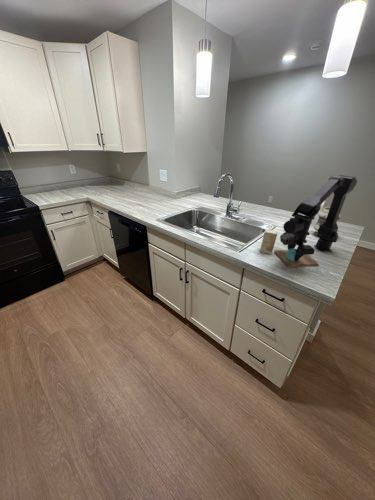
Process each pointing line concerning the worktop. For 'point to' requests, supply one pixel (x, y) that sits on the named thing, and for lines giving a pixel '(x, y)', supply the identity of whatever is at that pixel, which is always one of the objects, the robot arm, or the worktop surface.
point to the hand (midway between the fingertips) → (292, 257)
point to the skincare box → (268, 241)
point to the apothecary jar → (322, 219)
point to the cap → (291, 254)
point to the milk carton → (317, 215)
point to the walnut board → (303, 261)
